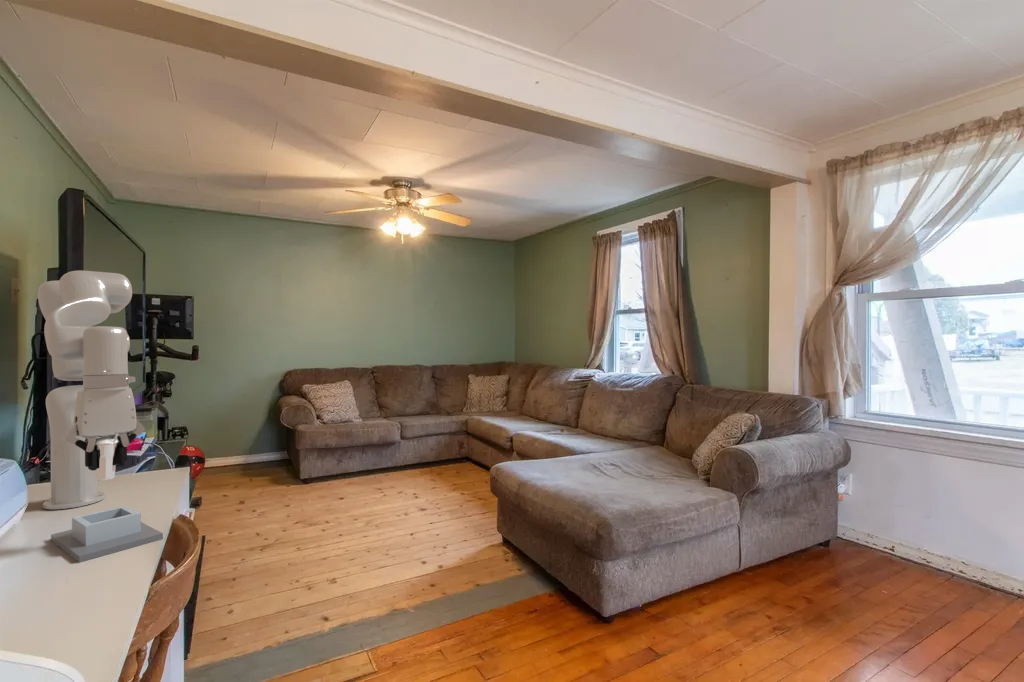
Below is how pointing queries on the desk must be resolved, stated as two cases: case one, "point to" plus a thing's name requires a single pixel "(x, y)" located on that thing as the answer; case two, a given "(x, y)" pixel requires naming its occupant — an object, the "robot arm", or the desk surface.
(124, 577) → the desk surface
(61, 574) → the desk surface
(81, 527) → the housing
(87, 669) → the desk surface
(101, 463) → the milkshake
